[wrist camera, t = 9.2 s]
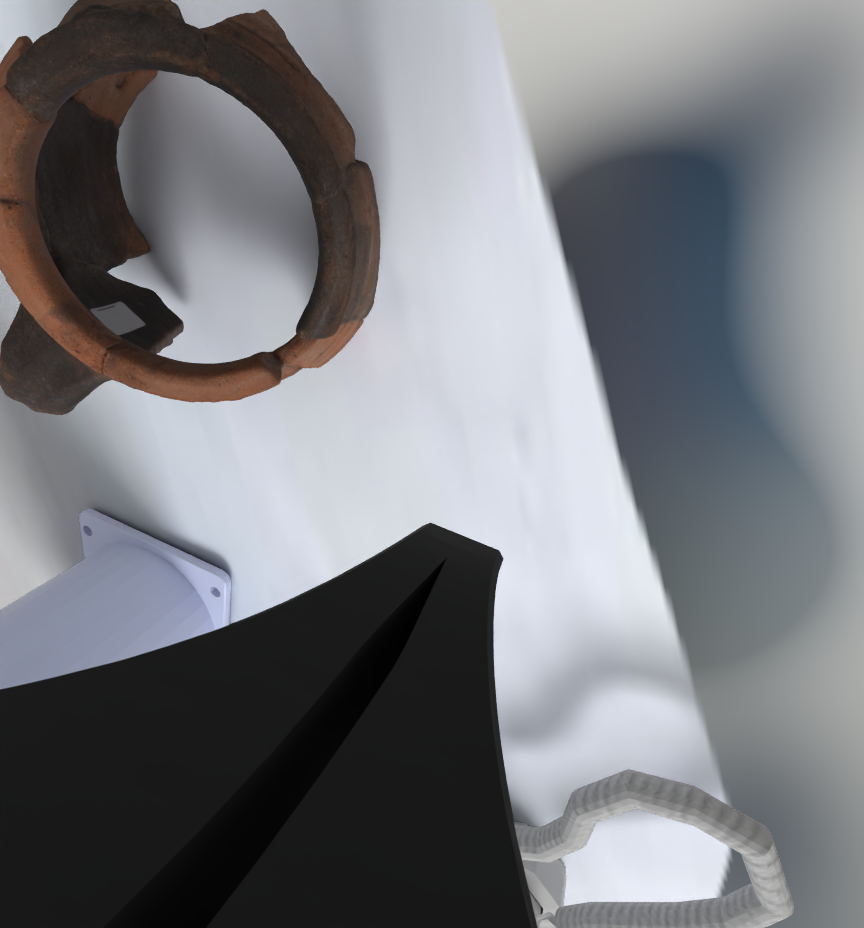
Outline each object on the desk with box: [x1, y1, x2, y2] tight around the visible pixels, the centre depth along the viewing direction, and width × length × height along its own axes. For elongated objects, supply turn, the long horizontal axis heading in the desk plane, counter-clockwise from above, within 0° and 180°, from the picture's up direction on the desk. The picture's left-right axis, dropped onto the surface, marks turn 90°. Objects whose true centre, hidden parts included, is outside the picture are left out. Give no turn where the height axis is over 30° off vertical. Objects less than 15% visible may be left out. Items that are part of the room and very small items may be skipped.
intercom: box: [514, 769, 794, 928], centre depth 22 cm, size 13×4×25 cm
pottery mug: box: [0, 0, 380, 415], centre depth 15 cm, size 12×10×8 cm
